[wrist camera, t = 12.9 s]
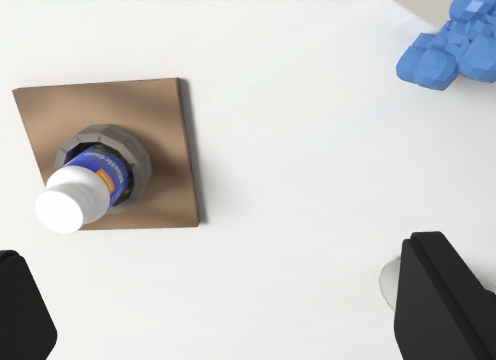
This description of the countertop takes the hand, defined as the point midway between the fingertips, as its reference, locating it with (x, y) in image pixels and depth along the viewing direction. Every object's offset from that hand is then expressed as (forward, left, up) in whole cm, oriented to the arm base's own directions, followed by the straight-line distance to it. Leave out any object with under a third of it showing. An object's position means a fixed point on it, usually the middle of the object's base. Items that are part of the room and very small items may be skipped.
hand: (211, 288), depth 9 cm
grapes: (+4, -17, -28) cm, 33 cm away
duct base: (-7, +15, -28) cm, 32 cm away
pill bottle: (-7, +16, -27) cm, 32 cm away
